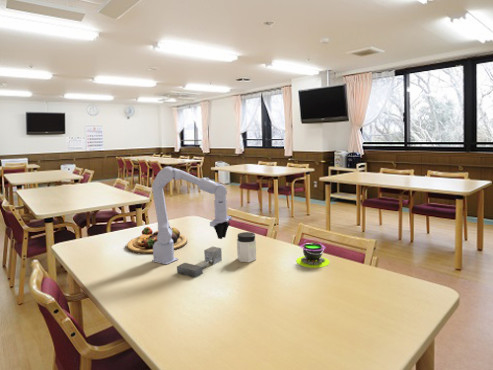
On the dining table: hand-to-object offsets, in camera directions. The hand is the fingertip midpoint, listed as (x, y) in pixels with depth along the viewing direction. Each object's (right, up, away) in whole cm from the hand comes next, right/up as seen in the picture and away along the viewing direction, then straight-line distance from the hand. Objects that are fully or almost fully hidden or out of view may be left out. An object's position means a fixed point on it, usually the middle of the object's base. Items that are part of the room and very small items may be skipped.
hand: (221, 237), depth 165 cm
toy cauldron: (+42, -10, -7) cm, 44 cm away
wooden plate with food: (-36, -8, +24) cm, 44 cm away
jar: (+12, -10, -3) cm, 16 cm away
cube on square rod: (-4, -10, -5) cm, 12 cm away
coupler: (-10, -12, -14) cm, 21 cm away
